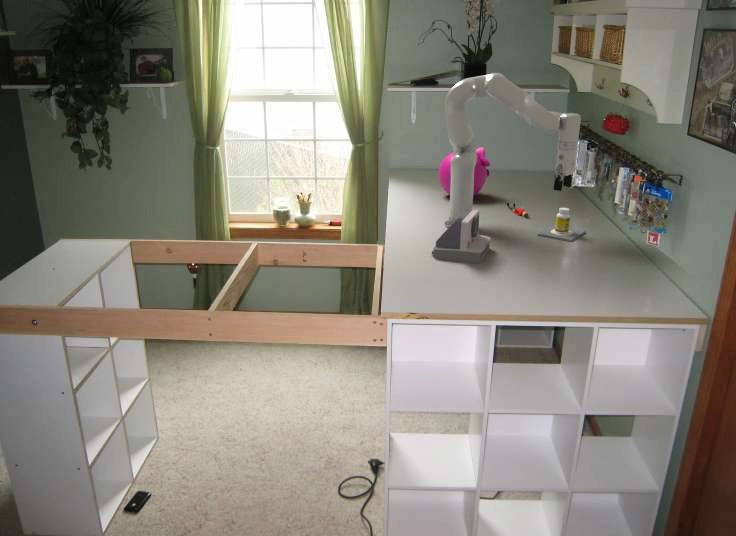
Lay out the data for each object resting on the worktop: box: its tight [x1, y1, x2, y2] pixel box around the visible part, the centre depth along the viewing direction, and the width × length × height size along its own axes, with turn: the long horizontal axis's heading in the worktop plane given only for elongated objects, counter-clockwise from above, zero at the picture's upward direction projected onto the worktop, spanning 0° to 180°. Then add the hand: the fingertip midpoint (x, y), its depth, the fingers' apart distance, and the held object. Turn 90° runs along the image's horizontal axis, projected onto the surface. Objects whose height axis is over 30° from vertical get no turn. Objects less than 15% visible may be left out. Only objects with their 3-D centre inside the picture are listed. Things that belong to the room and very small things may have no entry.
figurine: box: [438, 146, 491, 197], centre depth 324 cm, size 23×24×25 cm
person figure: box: [506, 202, 529, 219], centre depth 300 cm, size 5×4×18 cm
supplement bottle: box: [554, 207, 571, 234], centre depth 267 cm, size 5×5×10 cm
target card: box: [537, 224, 587, 243], centre depth 269 cm, size 16×14×1 cm
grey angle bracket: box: [431, 209, 492, 264], centre depth 243 cm, size 21×21×15 cm
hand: (562, 188), depth 264 cm, fingers open, 9 cm apart
